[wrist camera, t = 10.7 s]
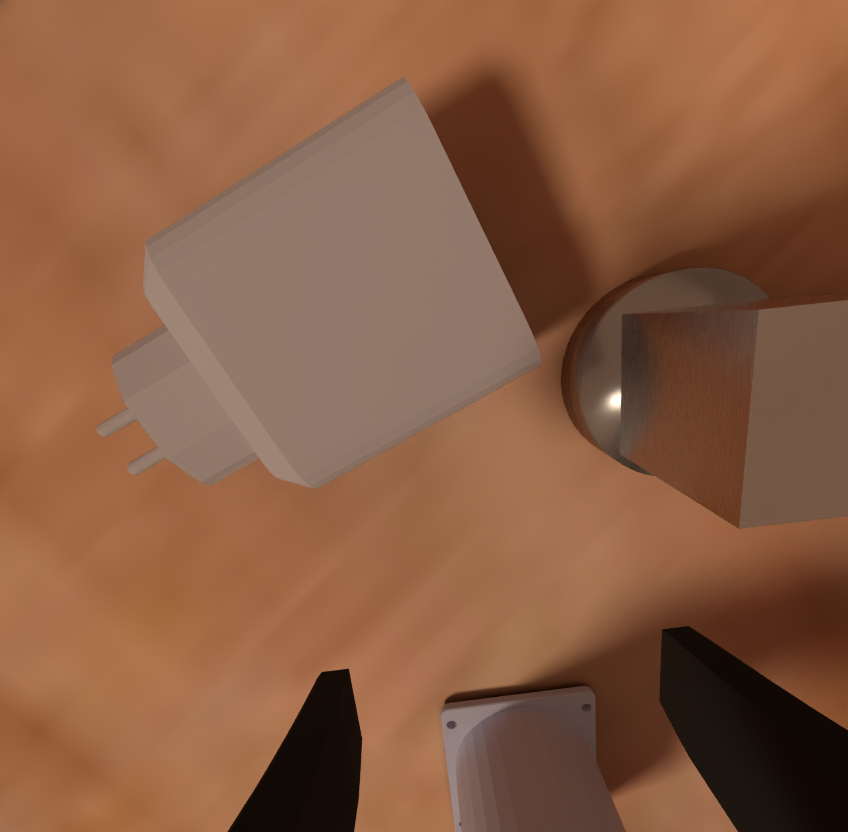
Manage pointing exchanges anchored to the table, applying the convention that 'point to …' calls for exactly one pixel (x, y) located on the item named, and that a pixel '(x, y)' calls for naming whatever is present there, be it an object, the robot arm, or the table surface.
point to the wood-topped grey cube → (742, 405)
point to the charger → (322, 308)
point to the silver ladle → (602, 344)
